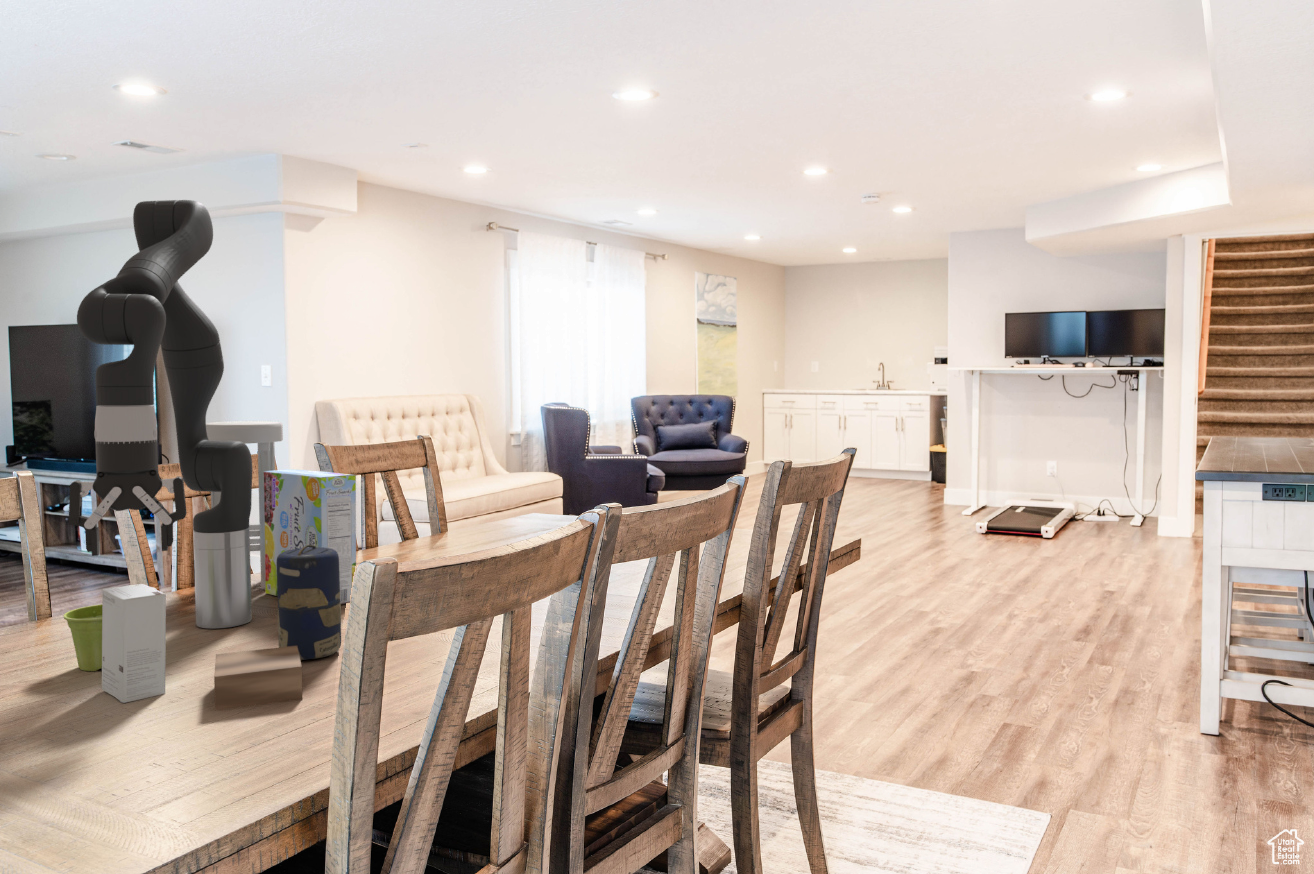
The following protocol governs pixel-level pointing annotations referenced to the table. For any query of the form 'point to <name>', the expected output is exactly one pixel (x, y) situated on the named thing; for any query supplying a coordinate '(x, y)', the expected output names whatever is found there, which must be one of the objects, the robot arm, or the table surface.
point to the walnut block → (257, 677)
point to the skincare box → (133, 642)
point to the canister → (309, 601)
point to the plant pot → (87, 636)
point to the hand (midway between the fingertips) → (130, 552)
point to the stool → (265, 437)
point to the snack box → (310, 519)
